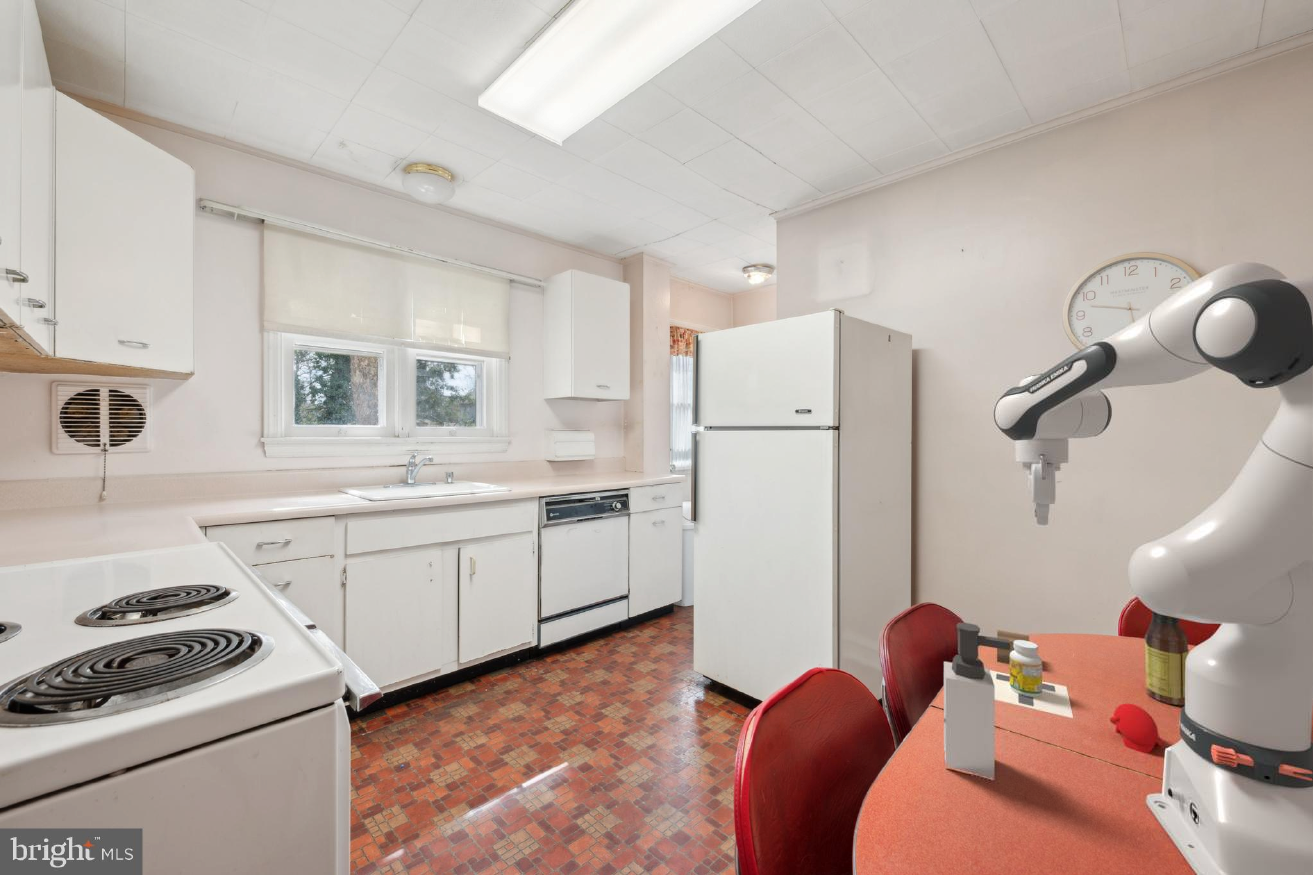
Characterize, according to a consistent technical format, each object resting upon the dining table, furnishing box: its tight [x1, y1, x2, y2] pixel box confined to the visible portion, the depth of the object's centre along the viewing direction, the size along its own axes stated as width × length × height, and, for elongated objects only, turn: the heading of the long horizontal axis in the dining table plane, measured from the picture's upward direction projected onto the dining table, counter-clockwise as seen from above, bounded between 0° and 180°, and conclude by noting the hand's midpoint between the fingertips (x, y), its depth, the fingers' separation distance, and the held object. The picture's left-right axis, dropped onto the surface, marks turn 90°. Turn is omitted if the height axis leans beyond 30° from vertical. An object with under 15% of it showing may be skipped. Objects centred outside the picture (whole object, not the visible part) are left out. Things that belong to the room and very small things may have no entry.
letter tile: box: [989, 669, 1074, 719], centre depth 105 cm, size 14×14×1 cm
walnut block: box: [996, 629, 1030, 665], centre depth 120 cm, size 6×6×6 cm
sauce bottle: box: [1144, 611, 1190, 706], centre depth 103 cm, size 6×6×20 cm
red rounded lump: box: [1109, 703, 1164, 754], centre depth 89 cm, size 8×6×6 cm
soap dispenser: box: [943, 622, 1010, 780], centre depth 83 cm, size 6×9×22 cm
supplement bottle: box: [1009, 640, 1043, 697], centre depth 105 cm, size 5×5×10 cm
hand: (1041, 520), depth 108 cm, fingers open, 8 cm apart
